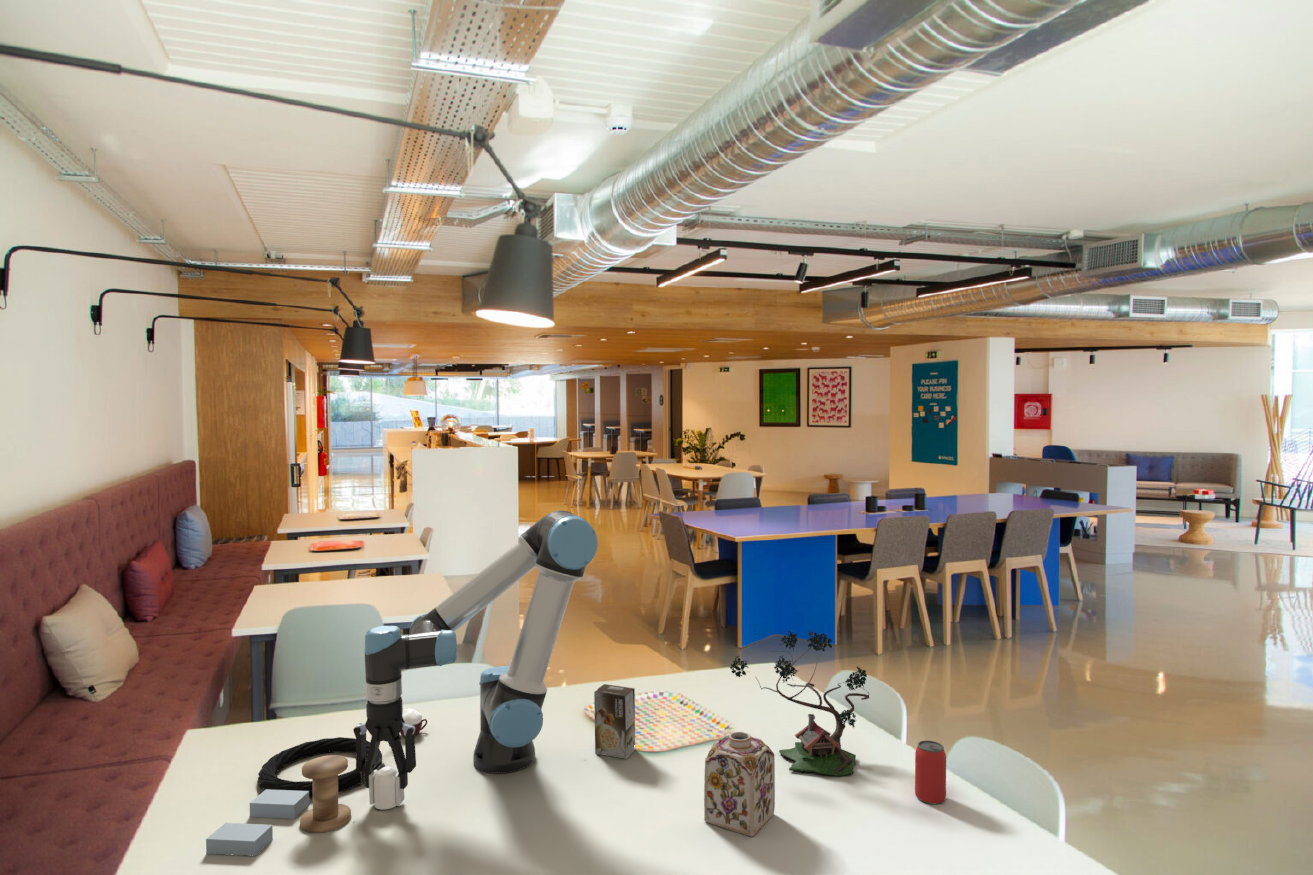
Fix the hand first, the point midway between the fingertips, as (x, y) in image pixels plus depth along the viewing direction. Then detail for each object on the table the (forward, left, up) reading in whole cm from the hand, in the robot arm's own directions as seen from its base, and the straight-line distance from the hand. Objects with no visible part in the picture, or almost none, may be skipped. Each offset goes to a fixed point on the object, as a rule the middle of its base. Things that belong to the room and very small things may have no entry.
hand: (387, 801), depth 169 cm
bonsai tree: (-94, -32, -1) cm, 99 cm away
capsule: (0, 0, -1) cm, 1 cm away
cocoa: (+10, -37, -1) cm, 38 cm away
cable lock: (+21, -14, -1) cm, 25 cm away
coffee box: (-47, -31, -1) cm, 56 cm away
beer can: (-121, -13, -1) cm, 121 cm away
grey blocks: (+22, +11, -1) cm, 25 cm away
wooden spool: (+10, +7, -1) cm, 13 cm away
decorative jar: (-78, -1, -1) cm, 78 cm away
